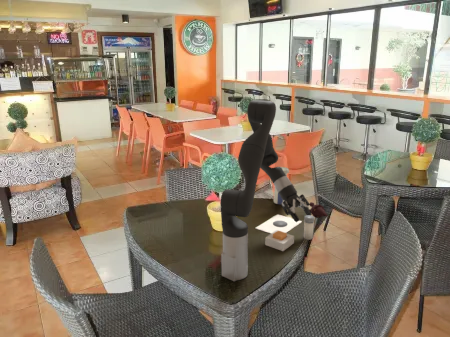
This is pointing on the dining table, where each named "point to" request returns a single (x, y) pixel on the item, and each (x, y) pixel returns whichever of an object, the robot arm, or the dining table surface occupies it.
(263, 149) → the robot arm
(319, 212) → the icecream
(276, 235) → the button
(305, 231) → the salt shaker
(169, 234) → the dining table surface
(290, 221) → the paper
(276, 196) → the water bottle
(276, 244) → the button housing
